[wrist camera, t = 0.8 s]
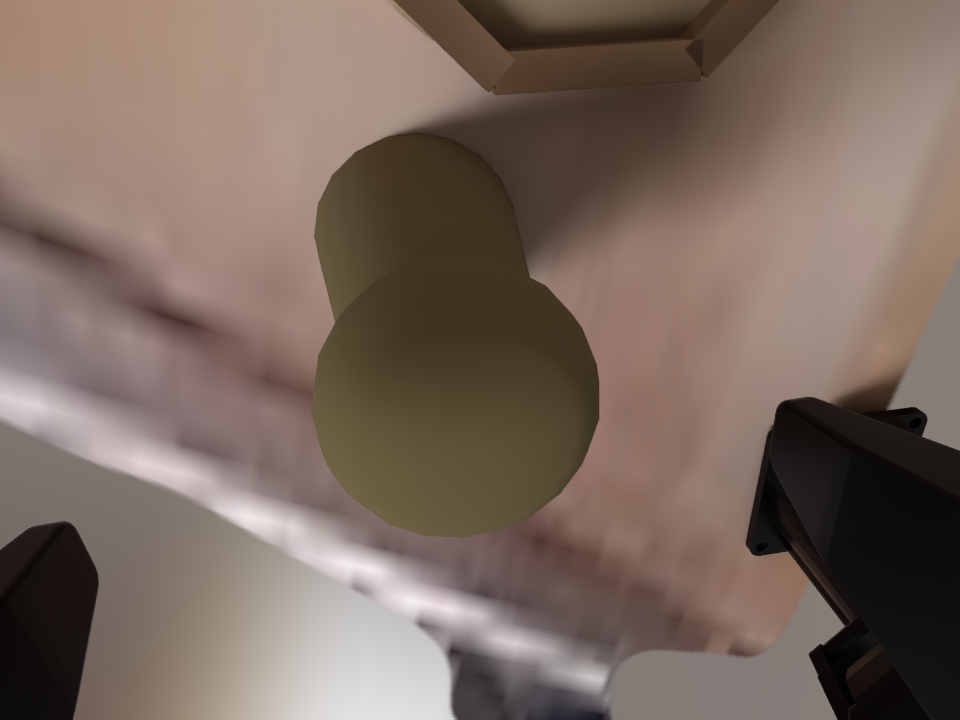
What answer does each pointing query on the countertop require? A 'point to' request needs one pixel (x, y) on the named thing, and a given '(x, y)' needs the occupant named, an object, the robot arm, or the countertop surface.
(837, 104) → the countertop surface
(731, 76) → the countertop surface
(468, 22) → the tray
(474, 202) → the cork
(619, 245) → the countertop surface
